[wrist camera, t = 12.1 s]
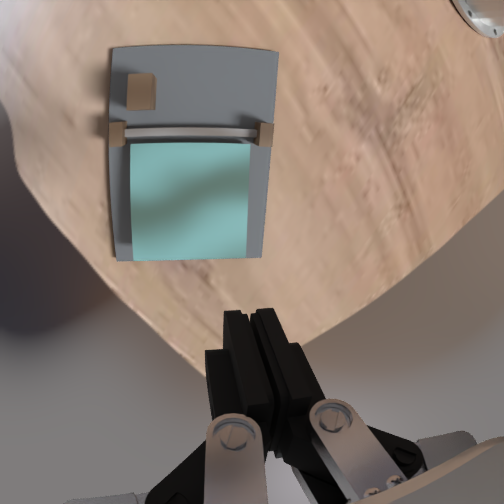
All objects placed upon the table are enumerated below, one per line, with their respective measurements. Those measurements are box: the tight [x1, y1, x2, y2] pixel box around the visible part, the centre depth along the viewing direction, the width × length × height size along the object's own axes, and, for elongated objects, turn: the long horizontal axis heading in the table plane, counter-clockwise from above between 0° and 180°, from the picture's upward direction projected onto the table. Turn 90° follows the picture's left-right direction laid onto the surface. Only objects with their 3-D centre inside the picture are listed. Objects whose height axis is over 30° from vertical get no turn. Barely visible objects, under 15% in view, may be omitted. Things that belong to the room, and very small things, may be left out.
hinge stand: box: [109, 73, 274, 147], centre depth 21 cm, size 5×12×4 cm, turn 86°
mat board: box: [109, 45, 279, 261], centre depth 24 cm, size 18×13×1 cm
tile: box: [130, 143, 250, 261], centre depth 24 cm, size 9×9×1 cm
